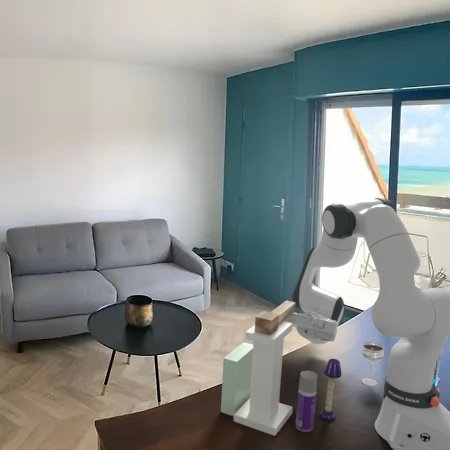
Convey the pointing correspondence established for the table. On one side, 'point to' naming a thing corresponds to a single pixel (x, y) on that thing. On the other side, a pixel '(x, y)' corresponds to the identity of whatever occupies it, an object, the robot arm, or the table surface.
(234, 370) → the pale green rectangular block
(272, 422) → the white i-beam pillar
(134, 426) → the table surface
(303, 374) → the container
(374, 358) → the wineglass
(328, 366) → the toy lamp
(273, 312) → the tan long block
